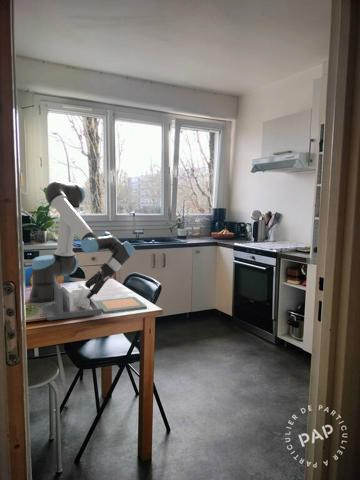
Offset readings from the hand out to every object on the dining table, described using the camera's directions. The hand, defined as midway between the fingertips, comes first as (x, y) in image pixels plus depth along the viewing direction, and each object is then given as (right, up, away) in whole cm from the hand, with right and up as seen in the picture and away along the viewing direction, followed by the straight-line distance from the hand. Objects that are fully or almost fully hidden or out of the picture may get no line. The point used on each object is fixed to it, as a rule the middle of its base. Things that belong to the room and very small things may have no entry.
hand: (79, 299), depth 171 cm
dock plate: (+19, -5, +10) cm, 21 cm away
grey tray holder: (-3, -5, -1) cm, 6 cm away
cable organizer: (-2, -5, 0) cm, 6 cm away
